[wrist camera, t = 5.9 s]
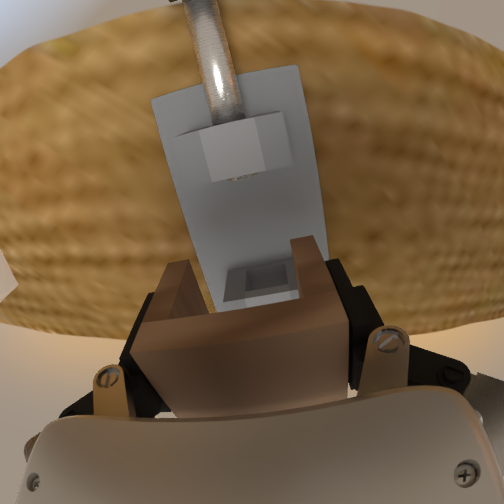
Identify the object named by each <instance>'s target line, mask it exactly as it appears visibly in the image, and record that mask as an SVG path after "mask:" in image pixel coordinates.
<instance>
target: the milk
mask: <svg viewBox="0 0 504 504" xmlns="http://www.w3.org/2000/svg"><path fill="white" fill-rule="evenodd" d="M17 286H18V283H17V281H16V279H15V277H14V275H13V274H12V272H11V270H10V268H9V266H8V264H7V262H6V260H5V258H4V255H3V253H2V251H1V249H0V302H1V301H2V300H3V299H4V298H5V297H6V296H7V295H8V294H9V293H10V292H11V291H12V290H14V289H15V288H16V287H17Z"/></svg>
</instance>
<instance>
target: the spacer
mask: <svg viewBox="0 0 504 504" xmlns="http://www.w3.org/2000/svg"><path fill="white" fill-rule="evenodd" d="M290 245H291V251H292V256H293V262H294V268H295V274H296V280H297V286H298V293H299V298H298V299H293V300H288V301H282V302H277V303H271V304H266V305H260V306H254V307H249V308H243V309H237V310H230V311H224V312H218V313H211V314H209V312H208V309H207V307H206V304H205V302H204V299H203V296H202V294H201V291H200V289H199V286H198V283H197V281H196V278H195V275H194V272H193V270H192V267H191V264H190V261H189V259H188V260H183V261H178V262H173V263H168V265H167V267H166V269H165V271H164V273H163V275H162V278H161V280H160V282H159V284H158V286H157V289H156V291H155V293H154V295H153V298H152V300H151V302H150V304H149V307H148V309H147V311H146V314H145V316H144V318H143V321H142V323H141V325H140V328H139V330H138V333H137V335H136V337H135V340H134V342H133V345H132V347H131V350H130V354H131V356H132V357H133V359H134V360H135V362H136V363H137V364H138V366H139V367H140V369H141V370H142V372H143V373H144V375H145V376H146V377H147V379H148V380H149V382H150V383H151V384H152V386H153V387H154V388H155V390H156V391H157V392H158V394H159V395H160V396H161V398H162V399H163V400H164V402H165V403H166V404H167V406H168V407H169V408H170V409H171V411H172V412H173V413H174V414H175V416H176V417H177V418H204V417H222V416H236V415H247V414H257V413H265V412H273V411H281V410H288V409H294V408H301V407H307V406H312V405H318V404H323V403H328V402H333V401H338V400H343V399H347V389H348V363H349V320H348V318H347V315H346V313H345V310H344V308H343V305H342V302H341V300H340V297H339V295H338V293H337V290H336V288H335V285H334V283H333V280H332V278H331V276H330V273H329V271H328V268H327V266H326V264H325V261H324V259H323V257H322V254H321V252H320V250H319V248H318V245H317V243H316V241H315V238H314V236H313V235H310V236H305V237H300V238H295V239H290Z"/></svg>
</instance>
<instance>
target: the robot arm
mask: <svg viewBox="0 0 504 504" xmlns="http://www.w3.org/2000/svg"><path fill="white" fill-rule="evenodd" d="M325 264H326V266H327V268H328V271H329V273H330V276H331V278H332V280H333V283H334V285H335V288H336V290H337V293H338V295H339V297H340V300H341V302H342V305H343V308H344V310H345V313H346V315H347V318H348V320H349V363H348V383H349V385H350V388H351V390H353V389H355V390H357V391H358V392H357V397H353V398H348V399H343V400H338V401H333V402H328V403H323V404H318V405H312V406H307V407H301V408H294V409H288V410H281V411H273V412H265V413H257V414H247V415H236V416H222V417H204V418H159V416H158V414H159V413H160V412H171V409H170V408H169V407H168V406H167V404H166V403H165V402H164V400H163V399H162V398H161V396H160V395H159V394H158V392H157V391H156V390H155V388H154V387H153V386H152V384H151V383H150V382H149V380H148V379H147V377H146V376H145V375H144V373H143V372H142V370H141V369H140V367H139V366H138V364H137V363H136V362H135V360H134V359H133V357H132V356H131V354H130V350H131V347H132V345H133V342H134V340H135V337H136V335H137V333H138V330H139V328H140V325H141V323H142V321H143V318H144V316H145V314H146V311H147V309H148V307H149V304H150V302H151V300H152V298H153V295H154V293H155V292H152V293H149V294H148V295H147V297H146V299H145V301H144V304H143V306H142V308H141V310H140V312H139V314H138V317H137V319H136V321H135V323H134V326H133V328H132V330H131V332H130V335H129V337H128V339H127V342H126V344H125V346H124V349H123V351H122V353H121V356H120V358H119V359H120V362H119V364H118V365H113V364H112V365H108V366H105V367H103V368H102V369H101V370H99V371H98V373H97V374H96V375H95V377H94V380H93V391H91V392H90V393H88V394H87V395H85V396H84V397H82V398H81V399H79V400H78V401H77V402H75V403H74V404H72V405H70V406H69V407H68V408H66V409H65V410H64V411H63V412H62V413H61V415H60V416H59V419H57V420H54V421H52V422H50V423H49V424H47V425H46V426H45V427H44V429H43V430H42V431H41V432H40V433H38V434H37V435H36V436H34V437H32V438H31V439H30V440H29V441H28V442H27V443H26V445H25V447H24V455H25V459H26V462H27V465H26V468H25V471H24V474H23V477H22V481H21V484H20V487H19V491H18V495H17V499H16V503H15V504H504V481H503V475H504V381H502V380H499V379H496V378H493V377H490V376H487V375H484V374H481V373H477V374H476V375H474V374H471V373H470V370H469V369H468V367H467V366H466V365H465V364H464V363H463V362H461V361H458V360H455V359H452V358H449V357H446V356H443V355H440V354H437V353H434V352H431V351H428V350H425V349H422V348H419V347H416V346H413V345H410V340H409V336H408V334H407V333H406V331H404V330H403V329H402V328H400V327H397V326H392V325H386V326H384V324H383V322H382V320H381V318H380V316H379V314H378V312H377V310H376V308H375V306H374V304H373V302H372V300H371V298H370V296H369V294H368V293H367V291H366V289H365V287H364V286H363V285H361V286H356V287H353V286H352V284H351V282H350V280H349V278H348V276H347V274H346V272H345V270H344V268H343V266H342V264H341V262H340V260H339V259H338V258H337V259H332V260H327V261H325Z"/></svg>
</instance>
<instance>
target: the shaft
mask: <svg viewBox="0 0 504 504" xmlns="http://www.w3.org/2000/svg"><path fill="white" fill-rule="evenodd" d="M169 1H170V2H174V1H177V0H169ZM182 2H183V6H184V10H185V14H186V18H187V22H188V26H189V31H190V35H191V39H192V43H193V47H194V51H195V55H196V59H197V63H198V67H199V72H200V76H201V80H202V84H203V88H204V92H205V96H206V100H207V104H208V108H209V112H210V116H211V120H212V124H213V126H216V125H220V124H224V123H228V122H232V121H237V120H241V119H246V117H245V112H244V108H243V104H242V100H241V95H240V91H239V87H238V83H237V79H236V75H235V70H234V66H233V62H232V58H231V54H230V50H229V46H228V42H227V38H226V34H225V30H224V27H223V23H222V19H221V15H220V11H219V7H218V4H217V0H182ZM256 174H258V172H257V173H252V174H247V175H243V176H238V177H233V178H229V179H226V180H227V181H237V180H242V179H246V178H250V177H252V176H255V175H256Z"/></svg>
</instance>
